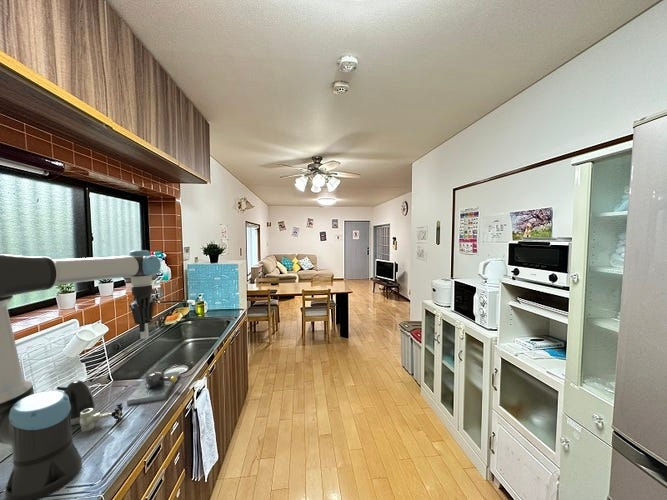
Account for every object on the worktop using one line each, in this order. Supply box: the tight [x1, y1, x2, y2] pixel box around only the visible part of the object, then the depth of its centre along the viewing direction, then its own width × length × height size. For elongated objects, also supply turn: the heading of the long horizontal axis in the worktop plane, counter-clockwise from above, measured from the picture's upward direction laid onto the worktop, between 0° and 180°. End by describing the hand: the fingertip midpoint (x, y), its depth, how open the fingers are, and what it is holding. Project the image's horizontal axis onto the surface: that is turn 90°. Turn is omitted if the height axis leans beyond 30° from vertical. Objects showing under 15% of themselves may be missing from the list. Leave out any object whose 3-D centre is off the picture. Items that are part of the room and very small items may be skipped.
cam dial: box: [145, 369, 178, 388], centre depth 128 cm, size 16×7×5 cm, turn 77°
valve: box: [79, 402, 124, 433], centre depth 104 cm, size 7×7×12 cm
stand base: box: [126, 367, 180, 406], centre depth 129 cm, size 22×14×6 cm, turn 15°
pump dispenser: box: [56, 380, 96, 426], centre depth 107 cm, size 10×10×15 cm
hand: (144, 338), depth 126 cm, fingers closed
